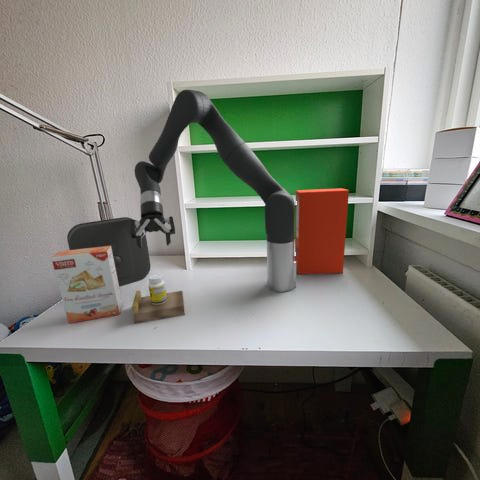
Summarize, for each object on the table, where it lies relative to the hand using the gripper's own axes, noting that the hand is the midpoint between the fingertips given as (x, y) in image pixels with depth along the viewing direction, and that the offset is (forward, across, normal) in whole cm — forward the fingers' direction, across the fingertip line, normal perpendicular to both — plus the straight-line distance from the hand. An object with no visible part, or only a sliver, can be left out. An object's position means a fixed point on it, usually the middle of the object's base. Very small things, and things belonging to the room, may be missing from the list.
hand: (154, 245), depth 81 cm
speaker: (+2, -17, +24) cm, 30 cm away
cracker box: (+17, -19, +9) cm, 27 cm away
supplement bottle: (+18, 0, +4) cm, 18 cm away
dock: (+20, 0, +6) cm, 21 cm away
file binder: (+13, +61, +13) cm, 64 cm away
